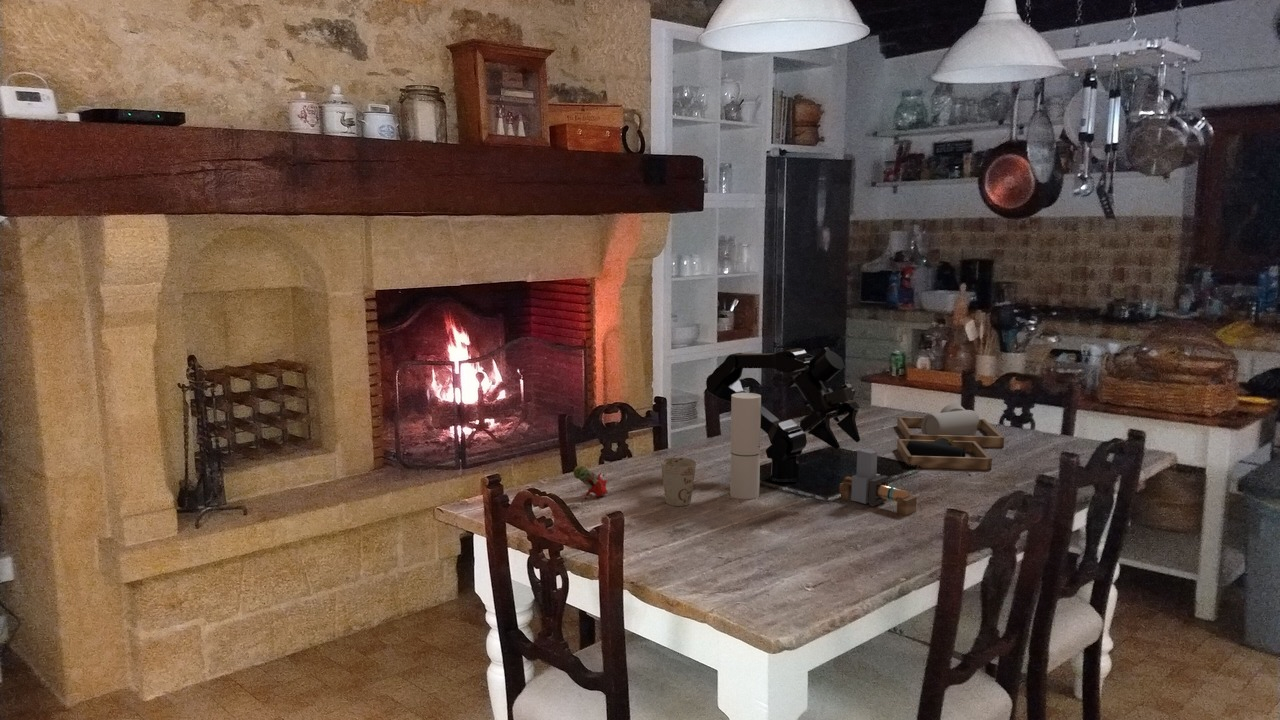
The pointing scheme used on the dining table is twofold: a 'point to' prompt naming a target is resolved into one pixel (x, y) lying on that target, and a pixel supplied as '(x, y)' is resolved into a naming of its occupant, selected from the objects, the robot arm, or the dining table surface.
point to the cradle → (903, 505)
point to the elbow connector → (951, 422)
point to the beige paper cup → (678, 480)
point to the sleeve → (864, 475)
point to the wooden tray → (976, 462)
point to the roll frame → (983, 441)
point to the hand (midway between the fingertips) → (848, 444)
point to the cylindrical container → (745, 445)
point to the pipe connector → (935, 448)
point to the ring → (872, 490)
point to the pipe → (883, 491)
